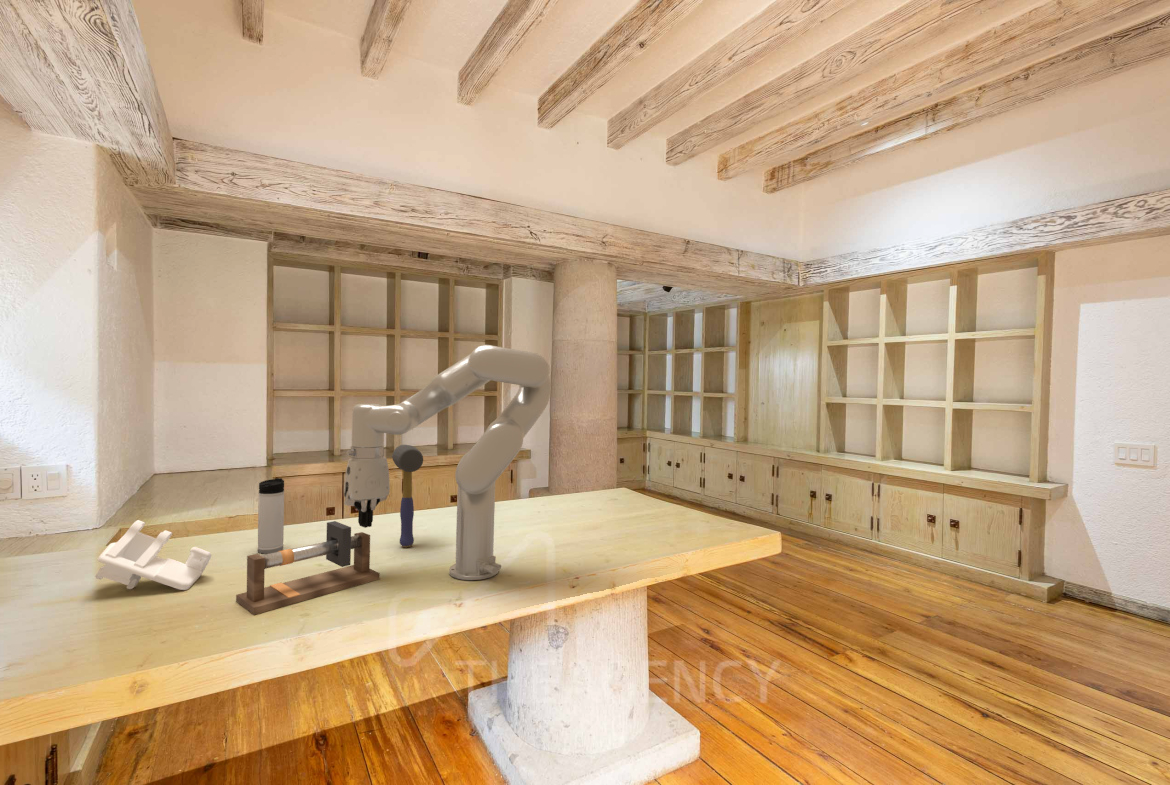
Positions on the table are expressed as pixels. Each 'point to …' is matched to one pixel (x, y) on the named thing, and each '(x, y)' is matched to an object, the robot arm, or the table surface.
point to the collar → (340, 543)
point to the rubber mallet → (407, 488)
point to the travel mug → (271, 516)
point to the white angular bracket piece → (149, 561)
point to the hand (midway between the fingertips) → (365, 525)
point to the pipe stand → (306, 587)
